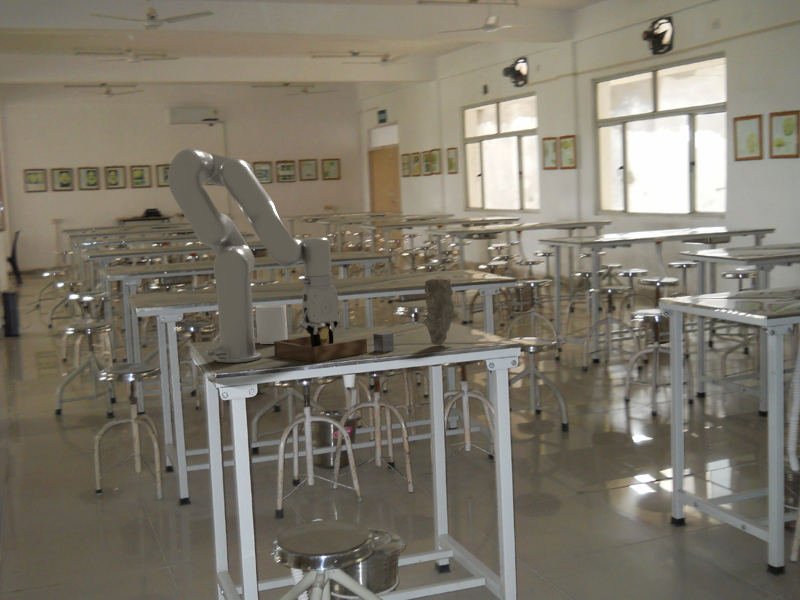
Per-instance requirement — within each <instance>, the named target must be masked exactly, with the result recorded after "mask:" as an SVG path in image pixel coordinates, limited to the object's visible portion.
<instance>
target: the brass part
mask: <svg viewBox="0 0 800 600" xmlns="http://www.w3.org/2000/svg"><path fill="white" fill-rule="evenodd" d="M317 334H319V339H320V346H321V345H327V344H330V342H329V326H325V325H318V331H317Z"/></svg>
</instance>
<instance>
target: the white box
mask: <svg viewBox="0 0 800 600" xmlns="http://www.w3.org/2000/svg"><path fill="white" fill-rule="evenodd" d="M255 323H256V339H257V343H258V344H259V343H260V344H259V345H262V344H274V341H280V340H286V339H288V326H287V325H288V324H287V323H288V321H287V305H286V304H284V303H268V304H266V303H265V304H258V305H256V306H255Z"/></svg>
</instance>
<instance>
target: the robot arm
mask: <svg viewBox="0 0 800 600" xmlns="http://www.w3.org/2000/svg"><path fill="white" fill-rule="evenodd" d="M167 183H168V186H169V187H168V188H169V189H170V192H171V194H172V197H173V198H174V200H175V202H176V204H177V205H178V207H179V209H180V210H181V212H182V214H183V216H184V217H185V219H186V220H187V223H188V224H189V226H190V227H191V229H192V230H193V233H194V234H195V235H196V238H197V239H198V240H199V242H200V243H202V245H204V246H206V247H210V249H211V251H212V252H213V253H214V256H215V257H214V262H213V274H214V280H215V281H214V282H215V287H216V299H217V300H216V301H217V312H218V327H219V328H218V329H219V344H216V346H214V348H209V349H205V350H204V353H203V354H204V356H205V357H206V358H207V357H213V356H214V357H215V362H218V363H223V364H224V363H226V364H227V363H232V364H235V363H245V362H252V361H256V360H259V359H261V358H262V352H261V351H260V352H258V351H256V340H255V324H254V323H255V322H254V321H255V320H254V307H253V305H254V304H253V293H252V292H253V291H252V290H253V289H252V283H251V273H252V271H253V270H254V268H255V264H256V263H255V262H256V260H255V255H254V253H253V251H252V250H251V248H250V246H249V245H248V243H247V242H246V240H245V238H244V237H243V235H242V234H241V232H240V230H239V229H238V226H237V225H236V224H235V223H234V221H233V220H232V219H231V218H230V217H229V216H228V215H226V214H224V213H222V212H220V211H219V210H218V208H217V206H216V205H215V204H214V202H213V200H212V198H211V196H210V195H209V194H208V192H207V191H206V189H205V188H204V187H203V183H207V184H211V185H214V186H215V185H216V186H219V187H224V188H225V189H226V190H227V192H228V193H229V194H230V196H231V198H232V199H233V201H234V202H235V203H236V205H237V206H238V207H239V209H240V210H241V211H242V213H243V215H244V216H245V218H246V220H247V221H248V223H249V224H250V226H251V227H252V229H253V231H254V232H255V234H256V235H257V237H258V238H259V240H260V241H261V243H262V244H263V247H265V248H266V250H267V251H268V253H269V254H270V256H271V257H272V259H273V260H274V261H275V262H276V263H277V264H279V266H282V267H292V266H294V265H297V264H303V269H304V279H302V280H301V283H302V285H304V287H303V292H302V300H301V301H302V302H301V303H302V304H301V305H302V307H301V311H302V317H301V318H300V321H299V323H298V324H299V327H301V328H303V329H304V330H305V331H307V332H308V334H309V336H310V337H311V346H312V347H316V346H320V339H319V334H317V331H318V326H319V324H324V326H329V342H330V344H333V343H334V342H335V341H334V332H335V331H336V327H337V326H338V324H339V323H341V321H342V320H343V318H342V315H341V313H340V312H341V311H340V304H339V302H340V301H339V297H338V291H337V288H336V285H333V275H332V274H333V273H332V272H333V271H332V257H331V255H332V253H331V243H330V239H328V238H327V237H322V236H321V237H308V238H296V237H293V236H292V235H291V234H290V232H289V231H288V229H287V228H286V226H285V225H284V223H283V222H282V220H281V218H280V217H279V215H278V212H277V208H276V205H275V203H274V201H273V199H272V198H271V196H270V195H269V194H268V192H267V191H266V190H265V188H264V187H263V185H262V184H261V183H260V181H259V179H258V178H257V177H256V175H255V171H254V168H253V167H252V165H251V164H250V163H249V162H248V161H246V160H243V159H241V158H236V157H235V158H234V157H227V156H223V155H219V154H214V153H212V152H209V151H207V152H206V151H204V150H200V149H197V148H194V147H190V148H189V147H188V148H185V149H182V150H180V151H179V152H178V153H176V154H175V156H174V157H173V159H172V161H171V162H170V165H169V168H168V171H167Z"/></svg>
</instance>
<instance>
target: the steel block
mask: <svg viewBox="0 0 800 600" xmlns="http://www.w3.org/2000/svg"><path fill="white" fill-rule="evenodd" d="M394 345H395V343H394V333H392V332H387V331H383V332H378V333H376V332H375V333H373V351H374V352H376V353H377V352H378V353H388V352H392V351H395V349H394V347H395V346H394Z"/></svg>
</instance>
